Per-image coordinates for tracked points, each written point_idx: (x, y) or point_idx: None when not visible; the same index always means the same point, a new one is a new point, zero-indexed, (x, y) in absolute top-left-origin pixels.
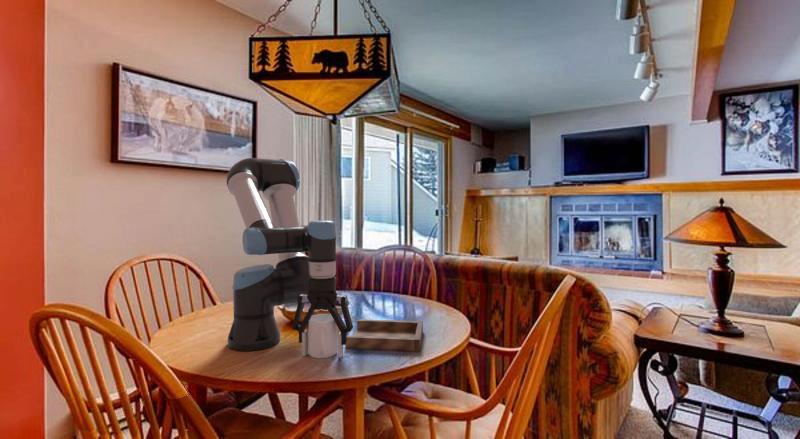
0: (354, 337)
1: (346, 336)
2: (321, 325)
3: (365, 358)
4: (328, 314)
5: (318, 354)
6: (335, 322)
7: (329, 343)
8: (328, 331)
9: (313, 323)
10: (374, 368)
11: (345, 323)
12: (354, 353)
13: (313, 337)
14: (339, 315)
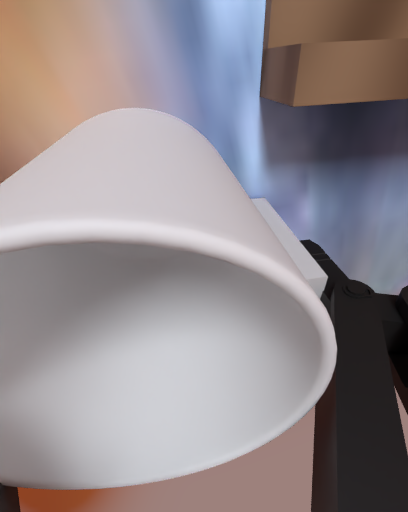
0: (373, 100)
1: (336, 270)
2: (187, 438)
3: (370, 213)
4: (110, 241)
5: (158, 276)
6: (315, 426)
7: (216, 289)
8: (228, 358)
9: (107, 466)
10: (387, 285)
11: (403, 403)
12: (320, 163)
13: (121, 348)
14: (400, 451)
